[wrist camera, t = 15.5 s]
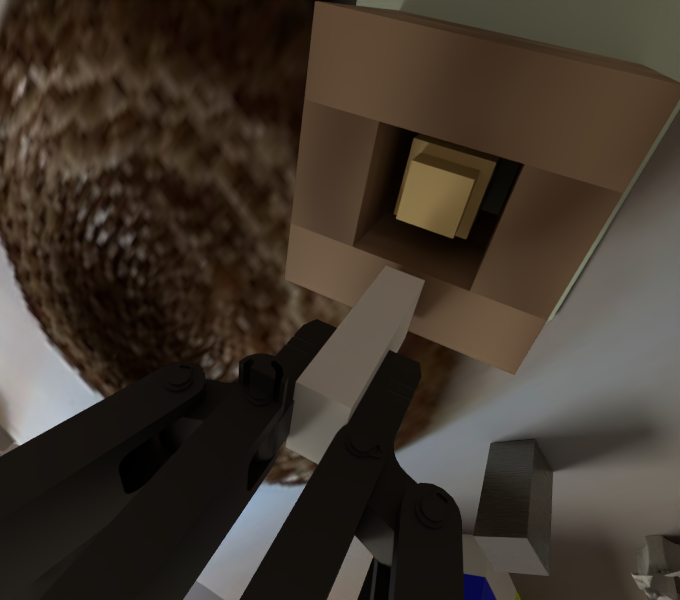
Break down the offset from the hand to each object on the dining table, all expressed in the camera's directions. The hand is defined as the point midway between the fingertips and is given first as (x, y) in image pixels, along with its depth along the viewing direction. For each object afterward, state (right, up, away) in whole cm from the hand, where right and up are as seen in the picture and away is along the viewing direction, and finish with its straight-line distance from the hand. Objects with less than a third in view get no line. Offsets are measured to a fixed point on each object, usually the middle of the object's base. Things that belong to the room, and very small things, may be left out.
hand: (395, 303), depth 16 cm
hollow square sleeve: (+4, +7, +5) cm, 9 cm away
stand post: (+10, -11, +13) cm, 20 cm away
